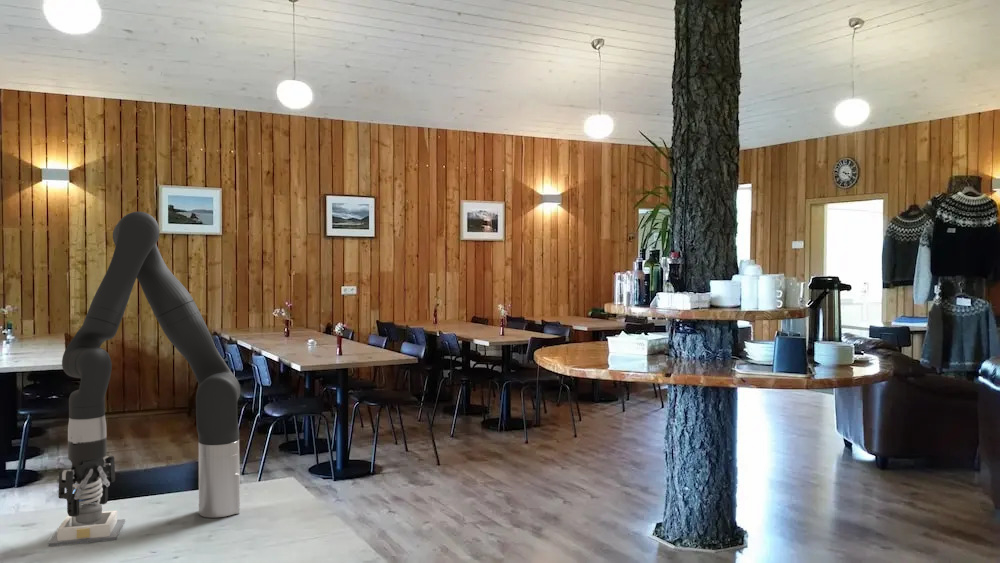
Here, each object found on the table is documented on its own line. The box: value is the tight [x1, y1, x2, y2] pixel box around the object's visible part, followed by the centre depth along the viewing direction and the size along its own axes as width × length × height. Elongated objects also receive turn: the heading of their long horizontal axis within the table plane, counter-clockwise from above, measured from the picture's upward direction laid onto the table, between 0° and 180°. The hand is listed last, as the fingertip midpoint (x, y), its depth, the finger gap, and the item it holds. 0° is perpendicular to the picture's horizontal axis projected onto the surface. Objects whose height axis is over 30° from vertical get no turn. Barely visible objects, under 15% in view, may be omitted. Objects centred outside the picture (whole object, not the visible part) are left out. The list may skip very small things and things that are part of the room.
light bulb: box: [73, 477, 103, 526], centre depth 170 cm, size 6×6×12 cm
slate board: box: [47, 518, 126, 547], centre depth 170 cm, size 13×12×1 cm
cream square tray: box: [56, 510, 118, 541], centre depth 170 cm, size 10×10×2 cm
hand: (88, 509), depth 170 cm, fingers open, 8 cm apart
